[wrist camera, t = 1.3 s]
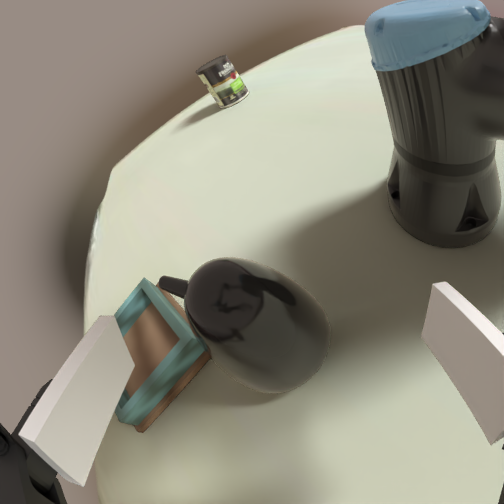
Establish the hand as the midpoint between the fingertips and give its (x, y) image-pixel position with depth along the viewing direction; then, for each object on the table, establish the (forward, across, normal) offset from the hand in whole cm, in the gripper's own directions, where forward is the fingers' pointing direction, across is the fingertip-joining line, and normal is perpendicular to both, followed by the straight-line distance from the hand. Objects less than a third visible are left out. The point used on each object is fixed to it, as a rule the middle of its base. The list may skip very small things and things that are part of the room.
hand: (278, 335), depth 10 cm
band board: (+20, -17, -18) cm, 31 cm away
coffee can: (+79, -4, +23) cm, 83 cm away
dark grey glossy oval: (+14, +1, -13) cm, 19 cm away
